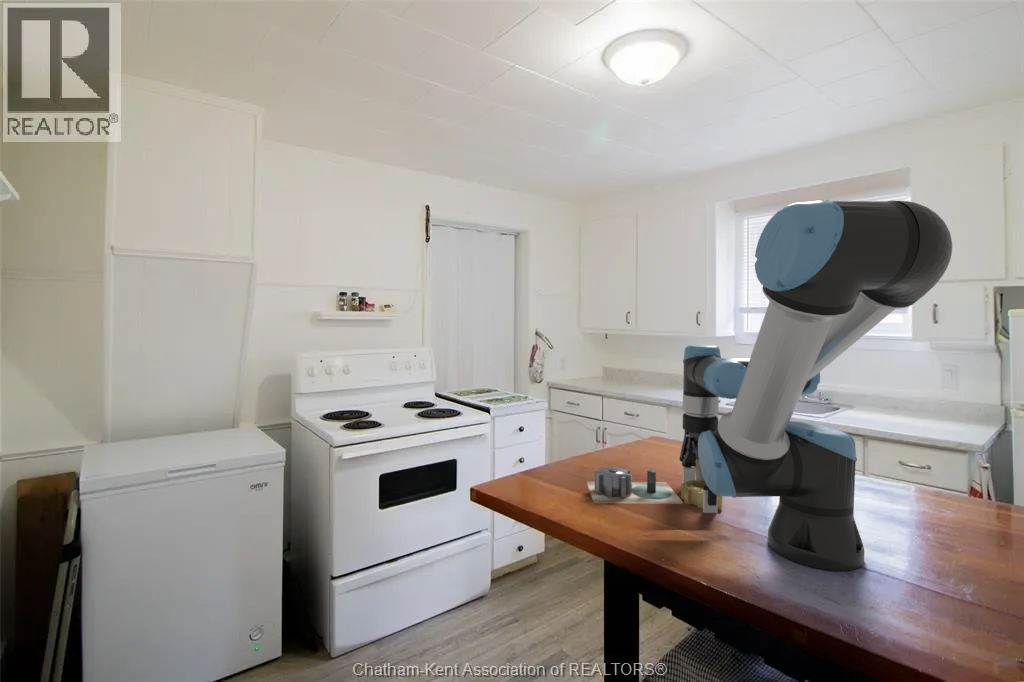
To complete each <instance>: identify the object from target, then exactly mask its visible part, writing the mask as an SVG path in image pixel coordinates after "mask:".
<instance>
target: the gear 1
mask: <svg viewBox="0 0 1024 682" xmlns="http://www.w3.org/2000/svg"><path fill="white" fill-rule="evenodd" d="M610 469H616V470H618V472H615V473H613V472H609V470H610ZM594 482H595V489H596V492H597V493H598V494H602V495H605V496H607V497H626V495H627V494H631V493H632V482H633V474H632V473H631V470H629V469H625V468H623V467H619V466H603V467H600V468H599V469H597V468H596V469H595V470H594Z"/></svg>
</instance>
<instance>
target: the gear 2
mask: <svg viewBox="0 0 1024 682" xmlns="http://www.w3.org/2000/svg"><path fill="white" fill-rule="evenodd" d="M704 486H705V483H704V481H703V480H696V479H695V480H689V481H686V483H685V484H684V483H683V482H682V483H681V489H680V490H681V491H680V493H681V494H680V499H681V500H684V501H683V503H684V504H686V505H694V506H697V508H701V509H703V489H702V488H703V487H704ZM718 510H721V511H722V510H723V496H718V495H717V513H718V512H719V511H718ZM717 513H716V514H717Z"/></svg>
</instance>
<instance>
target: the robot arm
mask: <svg viewBox="0 0 1024 682" xmlns="http://www.w3.org/2000/svg"><path fill="white" fill-rule="evenodd" d="M951 235H952V234H951V232H950V230H949V227H948V225H947V224H946V222H945V221H944V220H943V218H941V216H939V214H937V212H935V211H934V210H932V209H930V208H929V207H928V206H925V205H922V204H920V203H917V202H913V201H909V200H907V201H906V200H888V201H887V200H886V201H885V200H884V201H883V200H876V201H874V200H870V201H868V200H866V201H865V200H860V201H858V200H856V201H855V200H851V201H850V200H840V201H839V200H829V199H817V200H813V201H802V202H794V203H790V204H788V205H786V206H784V207H783V208H782V209H780V210H779V211H778V210H777V212H775V214H773V215H772V216H771V218H770V219H768V221H767V223H766V225H765V226H764V227H763V229H762V232H761V233H760V236H759V238H758V241H757V244H756V249H755V254H754V257H755V258H756V261H755V263H754V272H755V275H756V279H757V280H758V281H759V283H760V284H761V285H762V288H761V289H762V293H763V295H764V296H765V298H766V299H767V300H768V301H769V302H768V305H767V308H766V310H765V313H764V316H763V320H762V322H761V326H760V328H759V331H758V334H757V337H756V340H755V343H754V346H753V349H752V352H751V355H750V357H749V358H748V357H746V358H744V357H743V358H742V357H741V358H740V357H738V358H735V357H734V358H733V357H732V358H731V357H730V358H724V357H722V356H721V350H720V348H719V346H718V345H713V344H690V345H686V347H685V348H684V352H683V353H684V354H683V360H682V363H683V380H682V381H683V387H682V388H683V393H682V411H683V412H684V413H683V414H682V429H683V430H684V432H683V433H684V437H683V440H682V445H681V449H680V454H679V455H680V456H679V461H680V462H681V466H682V483H684V484H685V483H686V481H689V480H696V474H695V467H696V463H695V461H696V459H697V460H699V463H700V468H701V472H702V475H703V478H704V483H705V486H704V487H703V488H702V489H703V508H702V512H703V513H704V514H717V495H718V496H722V497H730V498H733V499H737V498H752V497H753V498H758V497H759V498H760V497H761V498H763V497H764V498H765V497H767V498H768V497H769V498H770V497H771V498H772V497H778V498H779V500H778V501H779V502H778V505H777V507H776V510H775V512H774V515H773V517H772V520H771V522H770V525H769V527H768V529H767V543H768V545H769V547H770V548H771V549H772V550H773V552H775V553H777V554H779V555H780V556H782V557H783V558H786V559H788V560H791V561H793V562H795V563H798V564H800V565H804V566H807V567H810V568H816V569H821V570H827V571H840V572H841V571H842V572H843V571H852V570H856V569H858V568H861V567H862V566H863V565H864V562H865V547H864V544H863V541H862V538H861V534H860V531H859V529H858V526H857V523H856V520H855V516H854V515H855V514H854V511H855V509H854V508H855V485H856V484H855V483H856V463H857V462H858V458H857V453H856V452H857V449H856V441H855V439H854V438H853V437H852V436H851V435H850V434H848V433H847V432H844V431H842V430H840V429H839V430H838V429H836V428H832V427H828V426H824V425H819V424H814V423H811V422H810V423H809V422H803V421H795V420H794V421H793V420H791V418H792V416H793V414H794V412H795V409H796V407H797V405H798V403H799V400H800V398H801V396H804V395H806V396H807V395H812V394H813V393H814V392H816V391H817V389H818V385H819V384H820V382H821V372H822V371H823V370H824V369H825V368H827V367H828V366H829V365H831V364H832V362H834V361H835V360H837V358H838V357H840V356H841V355H842V354H843V353H845V352H846V351H847V350H848V349H849V348H850V347H852V346H853V345H854V344H855V343H856V342H858V341H859V340H860V339H861V338H863V336H865V335H866V334H868V332H870V331H871V330H872V329H874V327H876V326H877V325H878V324H880V323H881V322H882V320H884V319H885V318H887V316H889V314H891V313H892V312H893V311H895V310H897V309H898V310H899V309H906V308H909V307H911V306H913V305H914V304H915V303H917V302H918V301H919V300H920V299H922V297H924V296H925V295H926V294H927V293H929V292H930V291H931V290H932V288H934V287H935V286H936V285H937V283H939V281H940V280H941V279H942V278H943V276H944V275H945V273H946V270H948V269H947V268H948V266H949V264H950V262H951V259H952V258H951V257H952V253H953V240H952V236H951ZM720 398H721V399H722V398H723V399H729V400H735V401H734V404H733V408H732V409H731V410H732V411H730V412H727V413H725V414H723V415H722V416H721V417H720V418H719V416H718V413H719V404H720V403H721V402H722V400H721V399H720Z"/></svg>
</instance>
